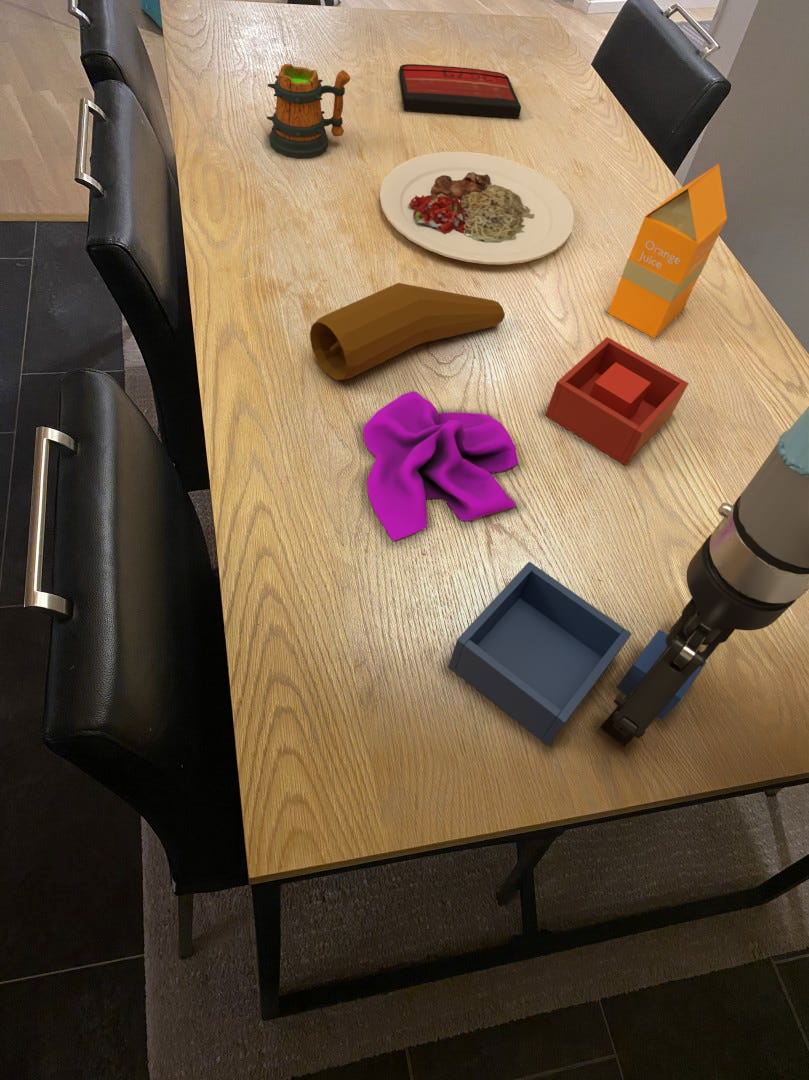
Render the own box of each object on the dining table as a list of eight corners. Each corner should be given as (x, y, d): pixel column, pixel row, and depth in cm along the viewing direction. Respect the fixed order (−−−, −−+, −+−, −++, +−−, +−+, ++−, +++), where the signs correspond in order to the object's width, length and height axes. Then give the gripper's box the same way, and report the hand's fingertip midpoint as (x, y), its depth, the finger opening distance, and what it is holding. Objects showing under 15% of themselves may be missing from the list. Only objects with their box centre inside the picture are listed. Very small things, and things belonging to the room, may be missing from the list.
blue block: (685, 684, 74) (707, 661, 69) (661, 721, 71) (682, 699, 67) (640, 653, 75) (659, 628, 71) (615, 687, 73) (633, 664, 69)
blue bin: (612, 660, 74) (632, 633, 70) (548, 746, 68) (565, 722, 64) (516, 591, 78) (529, 561, 73) (447, 667, 72) (456, 639, 68)
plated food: (608, 224, 120) (615, 204, 117) (488, 300, 105) (492, 279, 102) (465, 143, 130) (468, 123, 127) (338, 203, 115) (338, 182, 113)
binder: (521, 105, 135) (404, 97, 132) (519, 119, 137) (403, 111, 134) (507, 68, 145) (398, 60, 142) (505, 82, 146) (397, 74, 144)
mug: (266, 157, 121) (262, 79, 112) (269, 125, 127) (266, 49, 117) (347, 163, 122) (351, 87, 113) (347, 131, 128) (350, 56, 119)
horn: (486, 335, 105) (343, 409, 94) (448, 271, 104) (300, 338, 93) (517, 308, 98) (366, 384, 87) (475, 239, 97) (318, 307, 86)
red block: (636, 412, 94) (651, 382, 90) (616, 433, 92) (630, 403, 88) (602, 392, 96) (615, 361, 92) (582, 412, 93) (594, 381, 89)
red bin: (671, 416, 95) (689, 383, 91) (625, 466, 90) (642, 433, 85) (593, 370, 99) (607, 336, 94) (544, 415, 93) (556, 381, 89)
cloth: (373, 387, 93) (377, 348, 88) (522, 414, 93) (534, 376, 88) (337, 531, 80) (339, 494, 75) (511, 562, 80) (524, 527, 75)
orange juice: (683, 310, 108) (748, 175, 92) (654, 339, 104) (718, 202, 88) (636, 285, 111) (691, 149, 95) (606, 312, 106) (659, 174, 90)
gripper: (776, 446, 63) (675, 580, 80) (628, 643, 51) (547, 752, 68) (861, 495, 61) (739, 623, 78) (728, 715, 48) (618, 809, 66)
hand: (649, 683), depth 73 cm, fingers open, 13 cm apart
